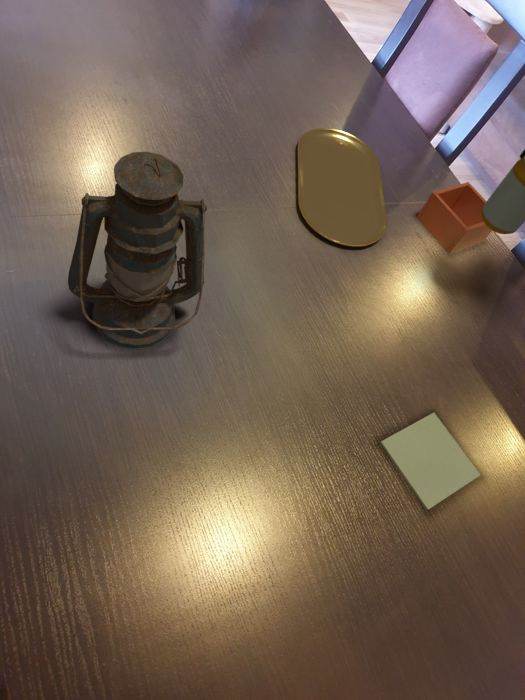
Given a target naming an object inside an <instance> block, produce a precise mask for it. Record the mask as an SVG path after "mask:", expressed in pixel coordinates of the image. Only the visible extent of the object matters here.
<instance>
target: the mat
mask: <svg viewBox="0 0 525 700" xmlns="http://www.w3.org/2000/svg"><path fill="white" fill-rule="evenodd" d="M379 444H380V445H381V447H382V448H383V450H384V451H385V453H386V454H387V456H388V457H389V459H390V460H391V461H392V463H393V464H394V466H395V467H396V468H397V470H398V471H399V473H400V475H401V476H402V477H403V479H404V480H405V482H406V483H407V485H408V486H409V488H410V489H411V491H412V492H413V493H414V495H415V496H416V498H417V499H418V501H419V502H420V504H421V505H422V506H423V508H424V509H425V511H427V512H428V511H429V510H430V509H432V508H433V507H435V506H436V505H438V504H440V503H441V502H442V501H444V500H446V499H447V498H449V497H450V496H452V495H453V494H455V493H457V491H459V490H460V489H462V488H464V487H465V486H467V485H468V484H470V483H471V482H473V481H474V480H476V479H477V478H479V477H481V473H480V471H479V470H478V469H477V468H476V466H475V465H474V464H473V462H472V461H471V460H470V458H469V457H468V456H467V455H466V453H465V451H463V449H462V448H461V446H460V445H459V444H458V442H457V440H456V439H455V438H454V437H453V435H452V434H451V433H450V432H449V430H448V429H447V428H446V426H445V425H444V423H443V422H442V421H441V419H440V418H439V417H438V415H437V414H436V413H435V412H431V413H430V414H428V415H426V416H425V417H423V418H421V419H419V420H418V421H416V422H413V423H412V424H410V425H408V426H406V427H405V428H402V429H400V430H399V431H397V432H395V433H394V434H392V435H390V436H388V437H386V438H385V439H383V440H381V441H380V442H379Z"/></svg>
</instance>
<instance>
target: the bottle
mask: <svg viewBox="0 0 525 700" xmlns="http://www.w3.org/2000/svg"><path fill="white" fill-rule="evenodd" d="M486 201H487V202H486V203H485V204H484V206H483V207H482V208H481V217H482V220H483V222H484V223H485V225H486V226H487V227H488V228H489V229H491V230H493V231H492V232H494V233H497V234H500V235H510V234H511V235H513V234H515V233H516V232H517V231H518V230H519V229H520V228H521V226H522V225H523V224H525V156H524V157H523V158H520V159H518V160H517V161H516V162H515V164H514V165H513V166H512V167H511V168H510V170H509V171H508V172H507V174H506V175H505V177H503V179H502V180H501V181H500V183H499V184H498V186H497V187H496V188H495V189H494V190H493V192H492V194H491V195H490V196H489V197H488V199H487V200H486Z"/></svg>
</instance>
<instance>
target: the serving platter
mask: <svg viewBox="0 0 525 700" xmlns="http://www.w3.org/2000/svg"><path fill="white" fill-rule="evenodd" d="M297 184H298V185H297V190H298V191H297V192H298V207H299V211H300V214H301V215H302V218H303V219H304V221H305V222H306V224H307V225H308V226H309V227H310V228H311V229H312V230H313V231H314V232H315V233H317V235H319V236H320V237H322V238H324V239H325V240H327V241H329V242H332V243H334V244H336V245H340V246H344V247H350V248H359V247H361V248H362V247H367V246H369V245H372V244H375V243H377V242H378V241H379V240H381V238H383V236H384V235H385V233H386V231H387V227H388V217H387V209H386V202H385V195H384V187H383V179H382V172H381V165H380V161H379V158H378V157H377V155H376V153H375V151H373V149H372V148H371V147H370V146H369V145H368V144H367V143H365V142H364V141H363V140H362V139H360V138H359V137H357V136H355V135H353V134H351V133H349V132H347V131H344V130H340V129H337V128H332V127H331V128H330V127H318V128H313V129H310V130H308V131H306V132H305V133H304V134H302V135H301V136H300V138H299V140H298V143H297Z"/></svg>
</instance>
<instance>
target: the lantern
mask: <svg viewBox="0 0 525 700" xmlns="http://www.w3.org/2000/svg"><path fill="white" fill-rule="evenodd" d="M113 176H114V181H115V183H116V184H115V185H114V195H108V196H106V195H105V196H102V195H90V193H88V192H85V195H84V196H83V197H82V198H81V199H80V200H81V206H82V208H81V213H80V218H79V223H78V230H77V236H76V242H75V245H74V249H73V253H72V257H71V261H70V265H69V268H68V269H69V270H68V274H67V286H68V290H69V291H70V292H71V293H72V294H73V295H75V296H77V297H78V298H79V300H80V305H81V311H82V314H83V315H84V318H86V319H87V321H88V322H89V323H90V324H92V325H94V326H95V329H96V330H97V332H98V333H99V334H100V336H101V337H102V338H103V339H104V340H106V341H107V342H109V343H111V344H113V345H115V346H117V347H119V348H123V349H128V350H129V349H130V350H145V349H148V348H153V347H156V346H157V345H159V344H160V343H162V342H164V341H165V340H167V338H168V337H169V336H170V335H171V333H172V331H173V330H177V329H180V328H182V327H184V326H186V325H188V324H189V323H190V322H191V321H192V320H193V319H194V318H195V317H196V315H198V312H199V309H200V305H201V300H202V295H203V294H202V293H203V287H204V284H205V219H206V212H207V210H208V207H207V204H206V201H205V200H204V198H201V199H200V201H197V200H183V199H180V197H179V192H180V191H181V189H182V188H183V187H184V174H183V173H182V171H181V169H180V167H179V166H178V164H177V163H175V162H173V160H170V159H169V158H168V157H166V156H164V155H163V154H159V153H155V152H152V151H151V152H150V151H135V152H130V153H128V154H126V155H124V156H121V157H120V158H119V159H118V160H117V162H115V164H114V167H113ZM103 220H104V221H103ZM182 220H183V221H184V226H183V223H182ZM102 223H103V224H104V227H103V228H104V231H105V232H106V233H107V238H106V244H105V246H104V250H103V253H104V254H103V255H104V260H105V263H106V264H105V271H106V273H105V274H104V278H105V279H106V280H105V281H103V283H102V284H101V286H100V288H96V287H93V286H90V284H89V283H88V277H89V273H90V269H91V265H92V261H93V257H94V255H95V251H96V246H97V241H98V238H99V234H100V231H101V226H102ZM183 233H184V236H185V239H184V240H185V257H184V256H181V257H179V259H178V256H177V248H178V246H177V243H178V241H179V240H180V238H181V236H182V235H183ZM183 265H184V266H183ZM176 267H177V268H176ZM175 269H176V270H177V280H175V281H174V282H173V285H172V287H171V289H170V288H169V286H168V284H169V282H170V280H171V278H172V276H173V274H174V271H175ZM183 270H184V272H183ZM183 273H184V274H183ZM183 275H184V277H183ZM177 284H178V287H177V288H175V287H176V286H177ZM180 284H184V285H180ZM197 295H198V300H197V304H196V306H195V309H194V313H193V315H192V316H191V317H189V318H188V319H186V320H185V321H183V322H182V323H180V324H178V325H175V323H176V308H175V306H174V305H175V304H180V303H183V302H186V301H188V300H189V299H192V298H193V297H195V296H197ZM84 301H86V302H89V303H91V304H93V307H92V312H91V316H92V319H91V318H90V317H89V314H87V312H86V308H85V303H84Z"/></svg>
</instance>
